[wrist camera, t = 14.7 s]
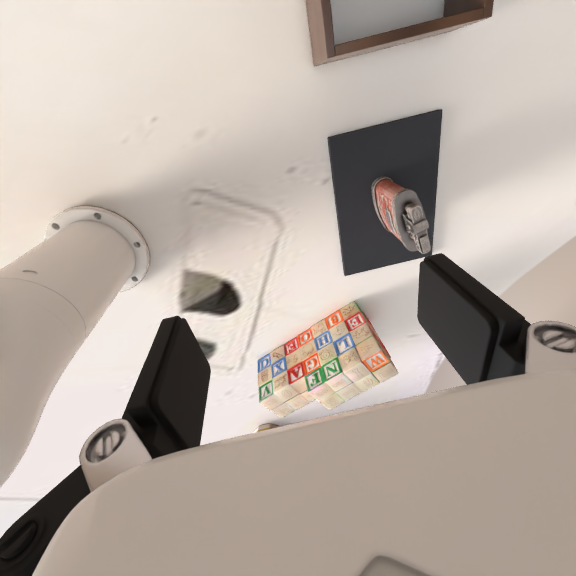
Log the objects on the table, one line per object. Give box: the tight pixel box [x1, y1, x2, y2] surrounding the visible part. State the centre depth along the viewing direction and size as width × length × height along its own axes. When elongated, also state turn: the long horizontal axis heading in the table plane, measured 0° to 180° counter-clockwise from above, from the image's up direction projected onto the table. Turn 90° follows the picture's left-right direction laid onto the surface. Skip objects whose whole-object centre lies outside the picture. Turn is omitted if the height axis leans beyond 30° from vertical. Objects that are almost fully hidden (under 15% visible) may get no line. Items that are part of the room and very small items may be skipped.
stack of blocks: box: [258, 301, 398, 418], centre depth 48 cm, size 21×6×12 cm, turn 126°
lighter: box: [372, 176, 431, 254], centre depth 36 cm, size 8×3×10 cm, turn 26°
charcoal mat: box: [328, 110, 442, 276], centre depth 41 cm, size 14×20×1 cm
